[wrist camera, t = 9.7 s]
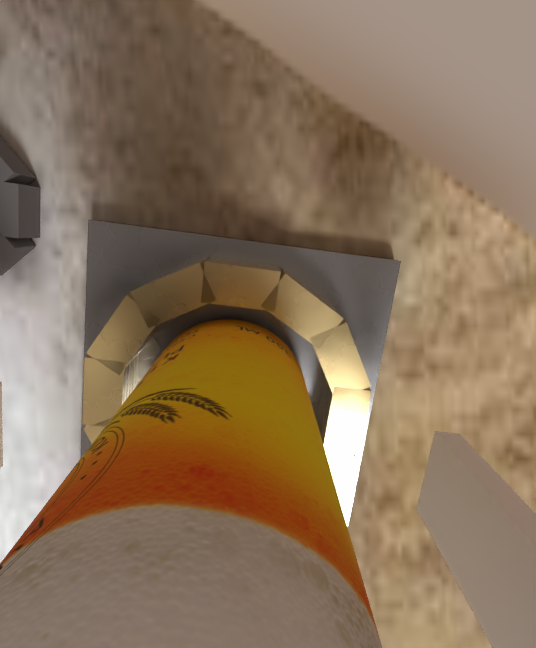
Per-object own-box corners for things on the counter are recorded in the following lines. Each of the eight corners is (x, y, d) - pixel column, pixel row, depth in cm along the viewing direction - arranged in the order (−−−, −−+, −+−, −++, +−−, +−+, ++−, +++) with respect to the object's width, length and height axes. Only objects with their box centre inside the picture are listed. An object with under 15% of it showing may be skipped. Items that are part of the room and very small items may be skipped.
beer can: (167, 301, 17) (-523, 870, 2) (317, 330, 17) (682, 990, 2) (146, 439, 18) (-358, 1393, 3) (286, 463, 18) (391, 1413, 4)
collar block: (86, 487, 19) (57, 531, 17) (96, 220, 17) (64, 219, 14) (344, 514, 20) (357, 560, 17) (394, 259, 17) (419, 265, 14)
